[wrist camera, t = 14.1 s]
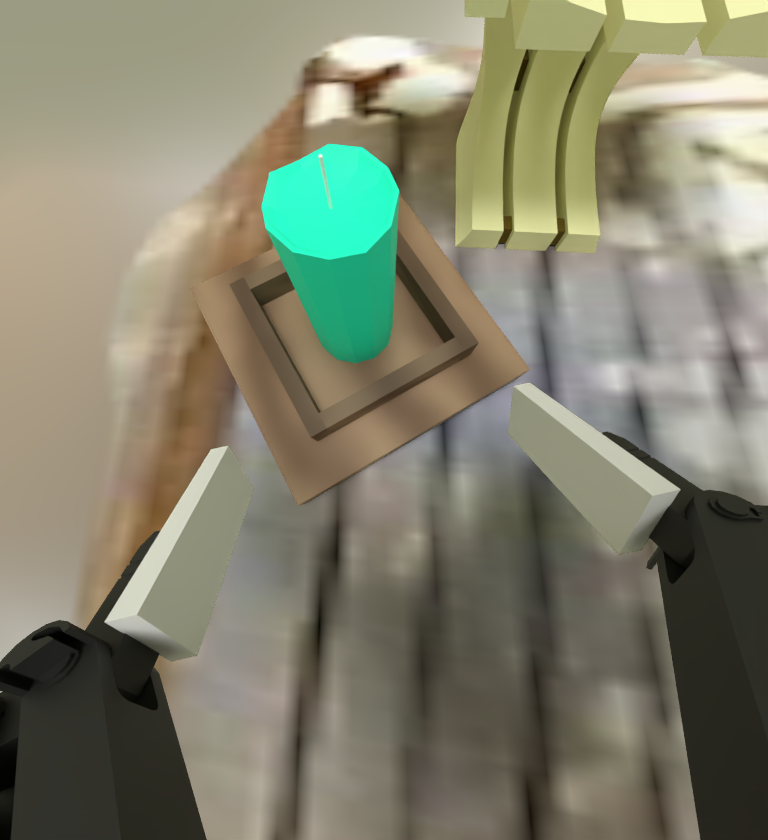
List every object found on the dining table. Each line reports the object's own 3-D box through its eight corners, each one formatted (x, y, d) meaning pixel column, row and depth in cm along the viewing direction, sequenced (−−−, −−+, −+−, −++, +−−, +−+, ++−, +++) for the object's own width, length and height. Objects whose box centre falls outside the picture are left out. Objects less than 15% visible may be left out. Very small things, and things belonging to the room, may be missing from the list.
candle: (391, 293, 23) (396, 93, 11) (394, 361, 21) (405, 219, 10) (318, 296, 23) (244, 99, 11) (317, 365, 21) (233, 226, 10)
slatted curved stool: (662, 127, 29) (1086, -410, 11) (687, 257, 26) (1340, -219, 8) (377, 116, 29) (365, -414, 12) (366, 242, 26) (327, -235, 9)
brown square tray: (395, 210, 27) (397, 164, 23) (517, 378, 23) (544, 357, 19) (205, 303, 25) (171, 270, 21) (306, 503, 21) (287, 508, 17)
